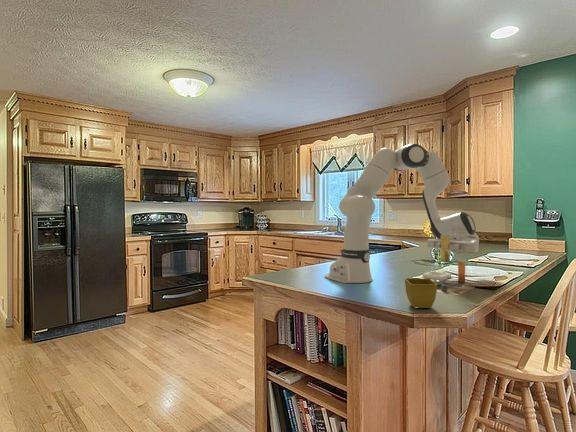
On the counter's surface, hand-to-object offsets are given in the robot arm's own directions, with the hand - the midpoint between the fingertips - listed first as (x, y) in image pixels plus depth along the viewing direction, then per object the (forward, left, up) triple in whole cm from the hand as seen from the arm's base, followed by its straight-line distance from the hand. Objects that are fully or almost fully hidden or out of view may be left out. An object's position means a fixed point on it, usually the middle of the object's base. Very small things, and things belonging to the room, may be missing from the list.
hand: (444, 246), depth 150 cm
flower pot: (+7, -35, -17) cm, 39 cm away
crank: (+4, -5, -15) cm, 16 cm away
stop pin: (0, +1, -6) cm, 6 cm away
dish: (-8, +10, -17) cm, 21 cm away
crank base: (+2, -5, -17) cm, 17 cm away
